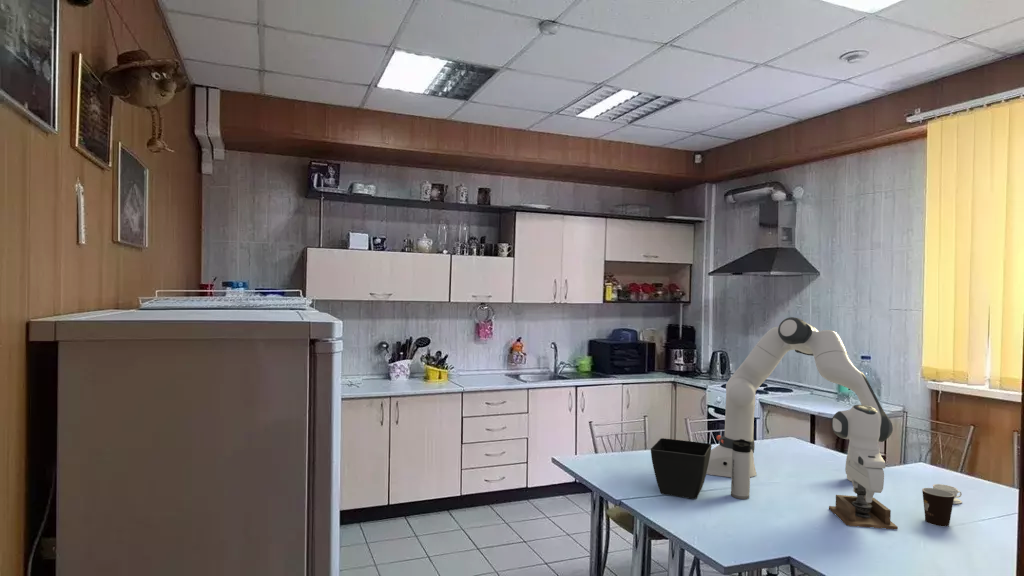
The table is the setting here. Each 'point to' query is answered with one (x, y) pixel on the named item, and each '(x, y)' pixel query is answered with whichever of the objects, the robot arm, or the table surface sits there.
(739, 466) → the travel mug
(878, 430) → the robot arm
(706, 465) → the flower pot
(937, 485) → the teacup
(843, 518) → the u-rest
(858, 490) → the grey chess piece
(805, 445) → the table surface
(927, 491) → the coffee mug
